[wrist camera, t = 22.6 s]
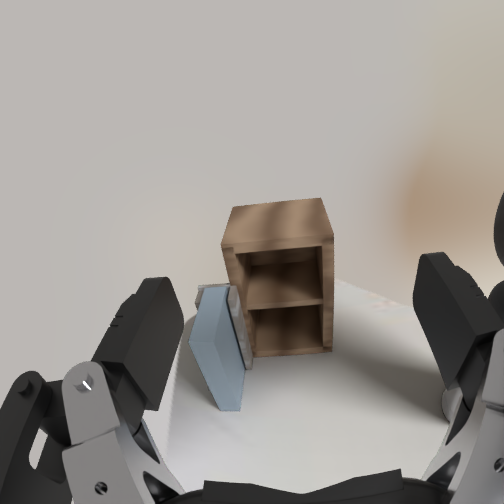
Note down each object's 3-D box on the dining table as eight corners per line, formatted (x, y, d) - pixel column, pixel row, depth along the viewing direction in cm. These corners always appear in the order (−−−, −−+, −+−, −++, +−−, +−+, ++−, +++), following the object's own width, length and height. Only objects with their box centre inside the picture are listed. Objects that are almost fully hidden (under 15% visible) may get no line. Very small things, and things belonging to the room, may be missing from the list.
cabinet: (324, 304, 57) (320, 197, 46) (333, 365, 45) (337, 246, 33) (230, 311, 60) (204, 210, 49) (219, 371, 47) (179, 260, 36)
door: (245, 360, 49) (226, 286, 40) (240, 411, 40) (213, 341, 32) (222, 361, 49) (198, 288, 41) (213, 410, 41) (179, 342, 32)
